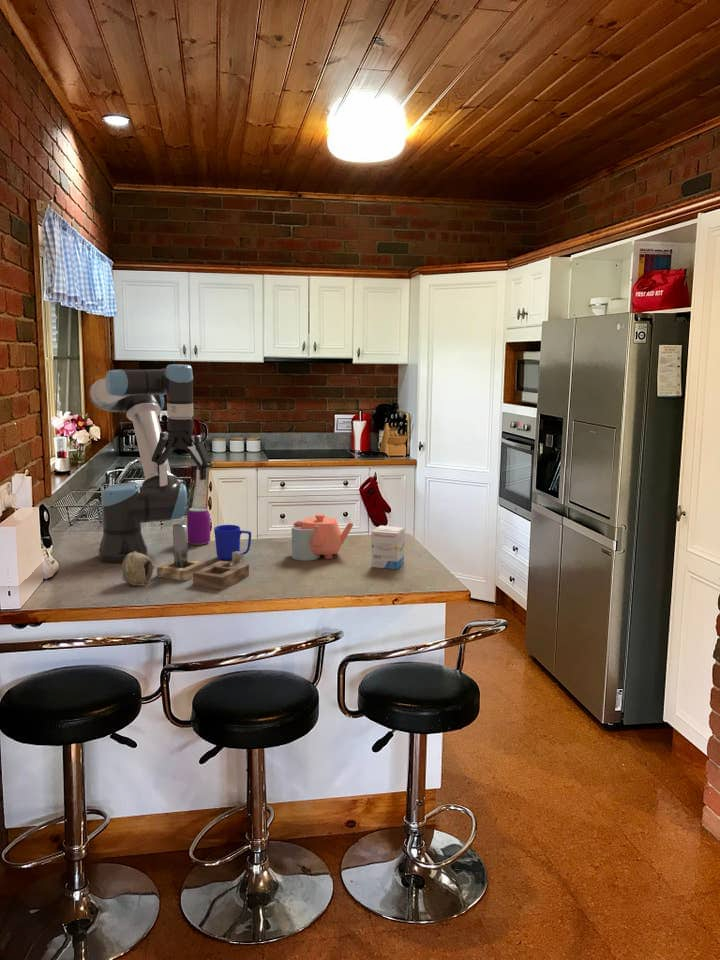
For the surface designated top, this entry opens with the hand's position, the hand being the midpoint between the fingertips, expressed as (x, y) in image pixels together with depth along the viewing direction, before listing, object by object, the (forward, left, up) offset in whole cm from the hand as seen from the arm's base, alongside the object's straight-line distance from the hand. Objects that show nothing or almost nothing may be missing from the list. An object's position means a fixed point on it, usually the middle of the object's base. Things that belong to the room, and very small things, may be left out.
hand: (182, 488), depth 230 cm
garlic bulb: (-4, -17, -25) cm, 31 cm away
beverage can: (-13, +27, -25) cm, 39 cm away
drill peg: (+3, -5, -25) cm, 26 cm away
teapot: (+32, +31, -25) cm, 51 cm away
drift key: (+17, +1, -25) cm, 30 cm away
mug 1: (+8, +16, -25) cm, 31 cm away
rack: (+3, -5, -25) cm, 26 cm away
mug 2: (+30, +28, -25) cm, 48 cm away
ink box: (+55, +30, -25) cm, 68 cm away
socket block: (+17, -5, -25) cm, 31 cm away
